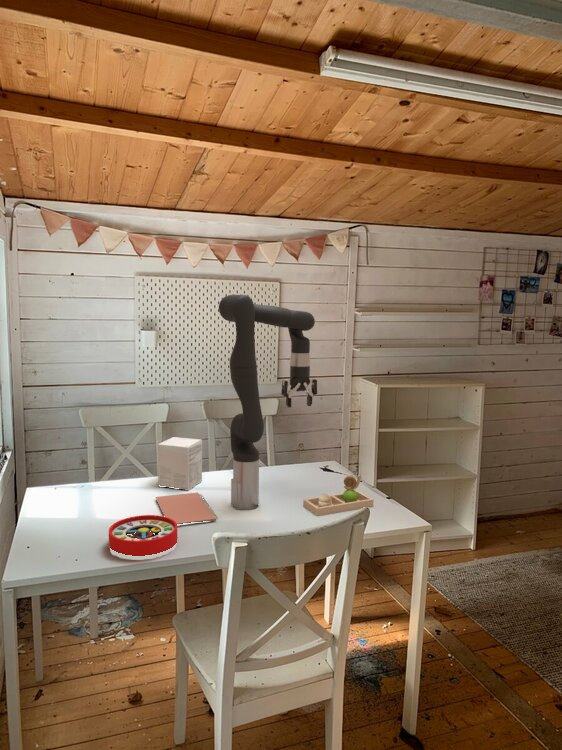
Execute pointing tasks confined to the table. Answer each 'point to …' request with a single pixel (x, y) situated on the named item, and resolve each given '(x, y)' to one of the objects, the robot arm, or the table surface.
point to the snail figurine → (351, 488)
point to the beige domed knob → (325, 500)
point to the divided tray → (337, 504)
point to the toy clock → (143, 535)
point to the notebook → (186, 508)
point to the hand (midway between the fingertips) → (299, 406)
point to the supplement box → (180, 463)
